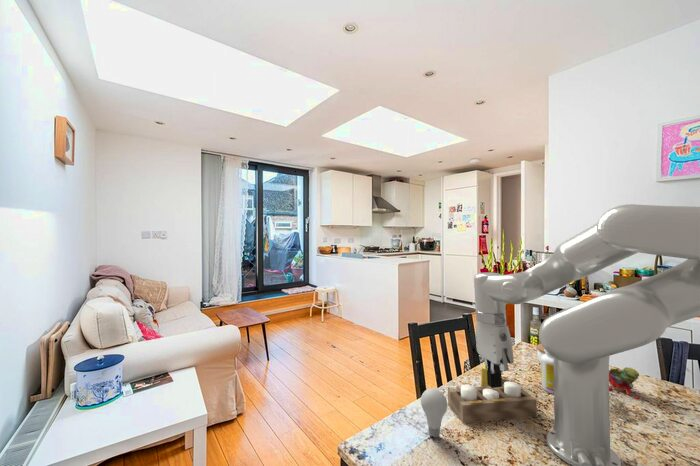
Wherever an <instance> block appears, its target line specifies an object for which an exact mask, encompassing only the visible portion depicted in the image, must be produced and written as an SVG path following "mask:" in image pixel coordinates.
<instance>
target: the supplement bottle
mask: <svg viewBox="0 0 700 466" xmlns="http://www.w3.org/2000/svg"><path fill="white" fill-rule="evenodd" d="M544 351H545V354H544V355H542V356H541V363H540V367H541V368H540V369H541V371H540V372H541V373H540V374H541V375H540V376H541V379H540V380H541V388H542V389H543V391H545V392H547V393H549V394H551V395H554V357H553V356H552V355H550V354H549V353H548V352H547V351H546V350H545V349H544Z"/></svg>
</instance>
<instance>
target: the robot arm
mask: <svg viewBox="0 0 700 466" xmlns="http://www.w3.org/2000/svg"><path fill="white" fill-rule="evenodd" d="M638 253H639V254H645V255H646V254H647V255H654V256H661V257H671V258H679V259H686V260H684V261H683V262H681V263H679V264H677V265H675V266H671V267H669V268H667V269H665V270H663V271H661V272H659V273H657V274H655V275H652V276H649V277H647V278H644V279H642V280H640V281H636V282H634V283H631V284H628V285H626V286H625V285H623V286H620V287H617V288H614V289H611V290H609V291H607V292H605V293H603V294H600V295H599V296H595V297H593V298H591V299H589V300H587V301H584V302H582V303H579V304H577V305H575V306H572V307H567V308H564V309H561V310H560V311H557V312H556V313H554V314H552V315H550V316H548V317H547V318H545V319H544V320H543V321H542V323H541V325H540V327H539V331H538V336H539V337H538V338H539V341H540V344H542V346H543V347H544V349H545V350H546V351H547V352H548V353H549V354H550V355H552V356H553V357H554V394H553V410H554V412H553V413H554V414H553V416H554V417H553V420H554V429H550V430H549V431H548V432H547V433H546V444H547V446H548V447H549V449H550V450H551V452H553V453H554V454H555V455H556V456H557V457H558V458H560V459H561V460H563V461H564V462H565V463H567V464H568V465H571V466H622V464H621V463H622V461H621V458H620V457H619V456H618V454H617V453H616V452H615V451H614V450H613V449H612V448H611V420H610V419H611V418H610V391H609V387H610V382H609V373H610V372H609V370H610V356H613V355H616V354H620V353H621V354H622V353H624V352H628V351H630V350H631V351H632V350H634V349H638V348H640V347H643V346H646V345H649V344H650V343H653V342H655V341H656V340H658V339H659V338H661V336H662V335H663V334H664V333H665V332H666V330H667V329H668V328H669V327H671V326H674V325H676V324H680V323H682V322H685V321H686V322H687V320H691V319H694V318H698V317H700V206H688V205H687V206H685V205H683V206H681V205H653V204H634V203H633V204H632V203H631V204H628V203H627V204H620V205H616V206H614V207H611V208H610V209H608V210H607V211H605V212H604V213H603V214H602V215H601V216H600V217H599V219H598V220H597V222H596V223H595V224H592V225H591V226H590V227H588V228H586V229H585V230H583V231H581V232H579V233H577V234H575V235H573V236H572V237H570V238H569V239H567V240H564V241H563V242H561V243H560V244H558V245H557V247H556V248H555V249H554V251H553V253H552V254H551V255H550V256H549V257H547V258H546V259H544V260H543V261H540V263H537V264H536V265H534V266H532V267H530V268H528V269H526V270H524V271H522V272H520V271H519V272H515V273H510V274H501V273H499V272H478V273H476V274H475V275H474V277H473V287H474V288H473V289H474V305H475V319H476V320H475V322H476V324H475V344H476V345H475V346H476V348H475V349H476V352H477V353H478V354H479V356H480V358H481V359H482V360H483V361H484V365H485V368H486V370H487V384H488V385H489V386H490V387H491V388H497V387H502V385H503V383H502V382H503V381H502V379H503V378H502V374H503V373H504V372H508V371H509V370H510V368H509V365H513V364H514V352H513V343H512V337H511V336H512V335H511V332H510V328H509V326H508V325H507V311H506V303H507V304H511V305H522V304H524V303H528V302H531V301H534V300H536V299H539V298H541V297H543V296H545V295H547V294H550V293H552V292H554V291H556V290H558V289H560V288H562V287H564V286H567V285H569V284H571V283H573V282H575V281H579V280H582V279H585V278H587V277H589V276H591V275H593V274H596V273H597V272H599V271H601V270H603V269H606V268H608V267H610V266H612V265H614V264H616V263H619V262H621V261H623V260H625V259H627V258H629V257H632V256H634V255H636V254H638Z"/></svg>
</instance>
